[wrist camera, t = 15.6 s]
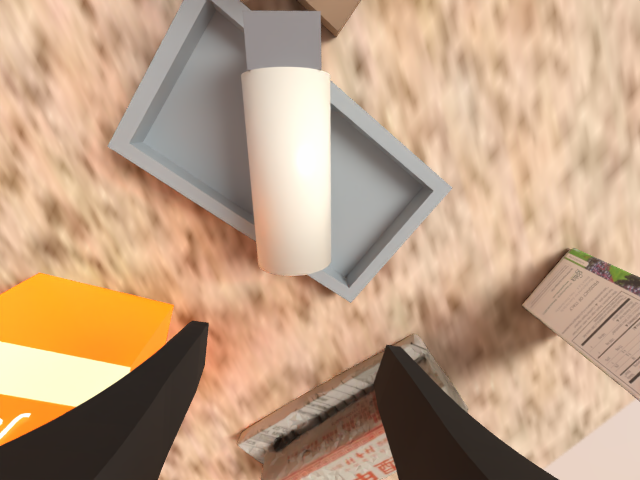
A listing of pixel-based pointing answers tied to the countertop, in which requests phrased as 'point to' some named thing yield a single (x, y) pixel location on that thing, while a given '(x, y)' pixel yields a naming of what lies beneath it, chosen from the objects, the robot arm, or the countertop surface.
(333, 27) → the board
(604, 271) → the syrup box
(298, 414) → the packaged product
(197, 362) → the robot arm
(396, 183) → the tray
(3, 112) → the countertop surface
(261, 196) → the white cylinder grey cap
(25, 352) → the orange juice
